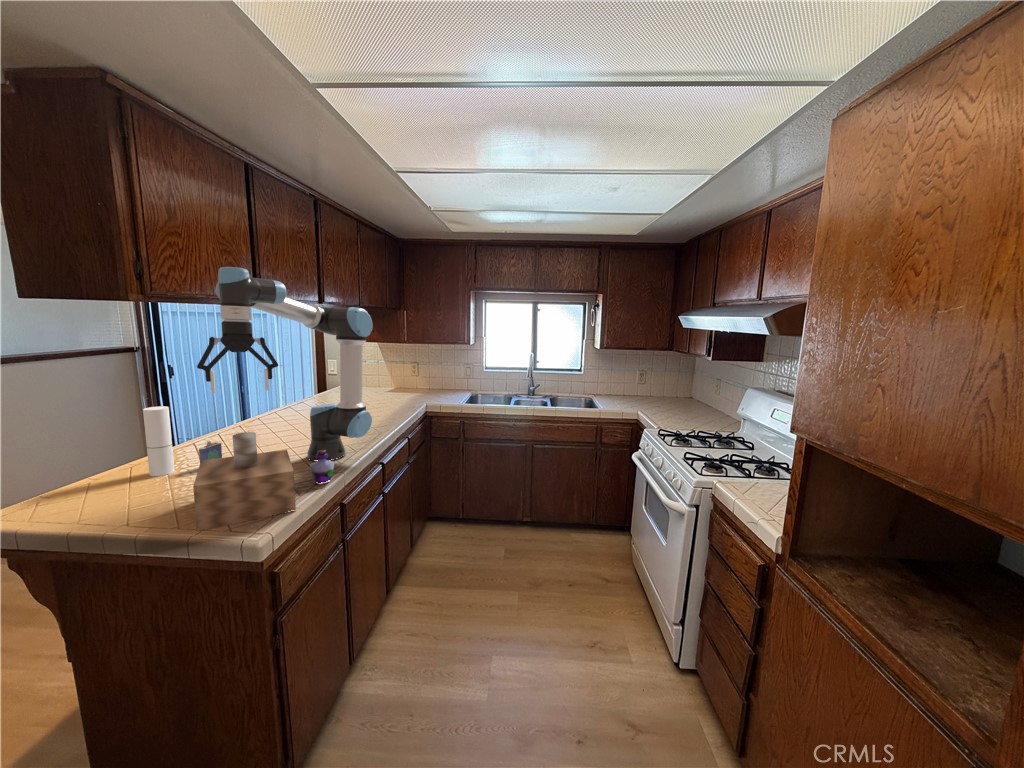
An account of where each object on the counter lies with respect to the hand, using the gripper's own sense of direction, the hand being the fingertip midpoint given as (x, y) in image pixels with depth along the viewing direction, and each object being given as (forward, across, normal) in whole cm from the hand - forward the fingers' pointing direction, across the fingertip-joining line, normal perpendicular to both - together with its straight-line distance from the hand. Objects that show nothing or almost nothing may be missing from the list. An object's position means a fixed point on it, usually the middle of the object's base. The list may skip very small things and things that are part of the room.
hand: (241, 391), depth 122 cm
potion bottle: (+37, +23, +9) cm, 44 cm away
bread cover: (+37, 0, 0) cm, 37 cm away
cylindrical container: (+37, -27, +47) cm, 66 cm away
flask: (+37, -12, +46) cm, 60 cm away
